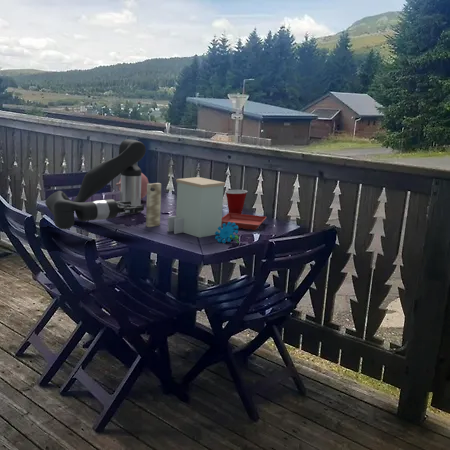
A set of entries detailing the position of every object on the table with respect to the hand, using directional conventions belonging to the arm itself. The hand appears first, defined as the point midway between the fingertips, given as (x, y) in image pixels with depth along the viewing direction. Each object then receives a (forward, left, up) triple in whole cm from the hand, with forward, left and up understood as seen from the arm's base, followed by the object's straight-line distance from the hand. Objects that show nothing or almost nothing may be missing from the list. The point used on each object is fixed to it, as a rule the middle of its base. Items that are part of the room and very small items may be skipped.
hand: (136, 205), depth 216 cm
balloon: (-11, +57, -10) cm, 59 cm away
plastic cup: (+42, +37, -10) cm, 56 cm away
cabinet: (+24, -1, -10) cm, 26 cm away
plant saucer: (+45, +18, -10) cm, 49 cm away
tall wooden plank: (+6, +6, -10) cm, 13 cm away
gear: (+37, -13, -10) cm, 41 cm away
